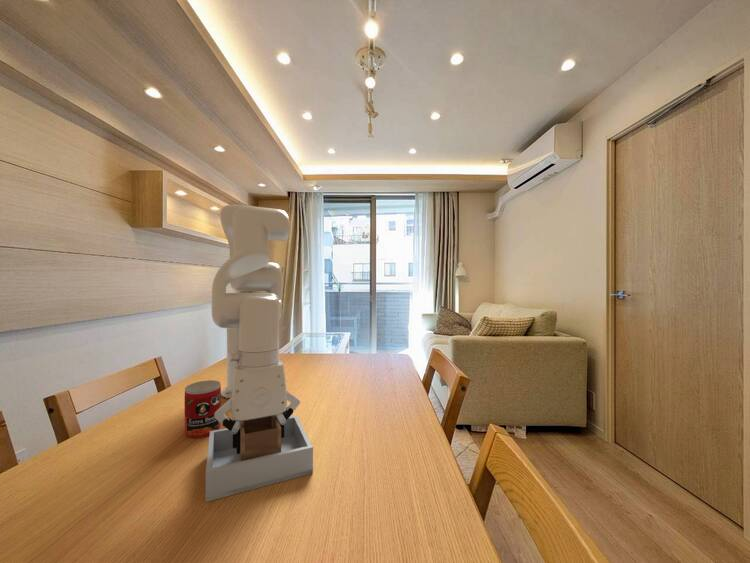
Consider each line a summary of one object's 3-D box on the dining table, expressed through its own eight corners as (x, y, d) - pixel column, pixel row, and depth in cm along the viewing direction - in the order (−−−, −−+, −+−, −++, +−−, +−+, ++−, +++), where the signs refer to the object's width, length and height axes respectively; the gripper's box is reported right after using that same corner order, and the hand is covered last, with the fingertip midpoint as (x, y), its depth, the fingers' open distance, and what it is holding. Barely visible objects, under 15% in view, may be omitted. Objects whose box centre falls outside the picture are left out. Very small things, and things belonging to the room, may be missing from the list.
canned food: (183, 442, 70) (183, 393, 70) (185, 426, 77) (186, 382, 77) (220, 434, 73) (221, 388, 73) (220, 420, 80) (220, 378, 80)
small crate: (239, 442, 65) (239, 413, 65) (273, 435, 68) (273, 408, 68) (241, 469, 56) (241, 436, 56) (281, 459, 59) (281, 428, 59)
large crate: (209, 455, 65) (209, 431, 64) (296, 436, 72) (296, 415, 72) (205, 502, 51) (205, 472, 51) (312, 473, 59) (313, 447, 59)
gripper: (209, 367, 54) (208, 467, 55) (307, 357, 62) (306, 445, 62) (211, 357, 61) (210, 446, 61) (299, 349, 69) (298, 428, 69)
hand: (259, 445), depth 62 cm, fingers closed on small crate, 6 cm apart
